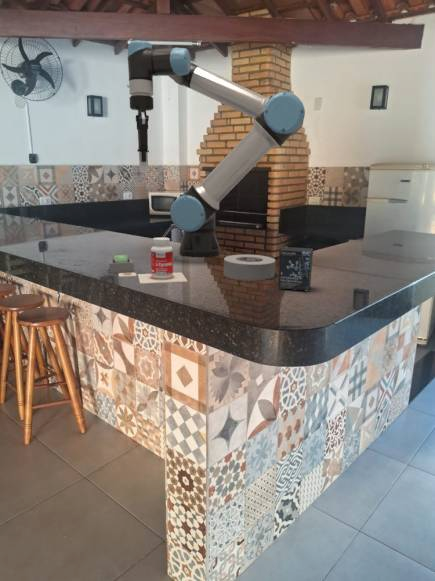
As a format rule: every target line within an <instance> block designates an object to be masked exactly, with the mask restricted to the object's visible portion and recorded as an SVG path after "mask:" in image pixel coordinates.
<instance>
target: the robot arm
mask: <svg viewBox="0 0 435 581" xmlns="http://www.w3.org/2000/svg"><path fill="white" fill-rule="evenodd" d="M127 69H128V84H127V88H129V89H128V90H129V96H130V97H129V109H130V110H133V111H137V114H135V122H136V130H137V141H138V142H137V144H138V145H137V146H138V148H137V152H138V159H139V160H138V161H139V162H138V163H139V166H138V167H139V173H149V158H148V157H149V156H148V153H150V150H149V144H148V142H149V141H148V137H149V136H148V135H149V133H148V131H149V130H148V129H149V118H150V117H149V115H147V111H148V112H149V111H153V110H154V97H153V95H154V79H153V78H154V77H155V76H156V77H160V76H161V77H162V76H163V77H164V76H166V77H167V76H168V77H169V78H170V79H172V80H173V82H174V83H176V84H178V85H179V86H183V87H186V88H187V89H191V90H192V91H194V92H196V93H199V94H200V95H203V96H206V97H208V98H210V99H212V100H214V101H216V102H218V103H221V104H223V105H225V106H227V107H228V108H231V109H233V110H235V111H237V112H239V113H242V114H244V115H247V116H249V117H250V118H253V126H252V128H251V130H249V131H248V133H247V134H245V136H244V137H243V138H241V140H240V141H239V142H238V143H237V144H236V145H235V147H233V148H232V150H231V151H230V152H228V153H227V154H226V156H225V157H224V158H223V159H222V160H221V161H220V162H219V163H218V164H217V165H216V166H215V167H214V169H212V171H210V173H209V174H208V175H207V176H206V177H205V178H204V179H203V180H202V181H201V182H200V183H193V184H192V185H191V186H190V187H189V188H188V189H186V190H184V192H183V194H182V195H181V196H179V197H178V198H176V199H174V201H173V203H172V205H171V208H170V217H171V220H172V221H171V222H172V223H173V224H174V226H175V227H177V228H178V229H179V230H181V231H183V235H182V239H181V241H180V244H179V249H178V253H179V255H180V256H183V257H187V258H212V257H213V258H214V257H217V256H220V255H221V254H220V253H221V252H220V251H221V248H220V245H219V242H218V239H217V236H216V213H217V212H218V211H219V210H220V202H221V201H222V200H223V199H224V198H225V197H226V196H227V195H228V194H229V193H230V191H232V190H233V189H234V188H235V187H236V186H237V185H238V184H239V183H240V182H241V180H242V179H244V178H245V176H246V175H247V174H248V173H249V172H250V171H251V170H252V169H253V168H254V167H255V166H256V165H257V164H258V163H259V162H260V161H261V160H262V159H263V158H264V157H265V156H266V155H267V154H268V153H269V152H270V151H271V150H272V149H274V148H280V147H281V146H282V145H283V144H285V142H287V140H289V138H290V137H291V136H294V135H295V134H297V133H298V132H299V130H300V129H301V128H302V126H303V125H304V124H303V123H304V121H305V120H304V119H305V115H306V114H305V113H306V109H305V105H304V103H303V101H302V100H301V98H299V97H298V96H297V95H296V94H294V93H291V92H289V91H284V92H283V91H281V92H278V93H276V94H274V95H273V96H272V95H268V96H265V95H263V94H260V93H257V92H255V91H253V90H251V89H249V88H246V87H245V86H243V85H240V84H238V83H236V82H234V81H232V80H229V79H227V78H225V77H224V76H221V75H219V74H217V73H214V72H212V71H210V70H208V69H206V68H204V67H201V66H199V65H198V64H195V63H193V62H192V60H191V54H190V51H189V49H188V48H184V47H169V48H153V45H152V43H150V42H149V41H145V40H133V41H130V42H129V43H128V45H127Z"/></svg>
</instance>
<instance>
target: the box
mask: <svg viewBox="0 0 435 581" xmlns="http://www.w3.org/2000/svg"><path fill="white" fill-rule="evenodd" d="M313 254H314V249H313V247H312V248H309V247H308V248H307V247H294V246H293V247H291V246H283V247H281V249H280V250H279V264H278V266H279V268H278V269H279V270H278V285H277V286H278V287H277V288H279V289H278V290H285V289H293V290H292V291H296V290H308V289H309V290H310V288H309V287H311V284H312V283H311V282H312V269H313V256H314V255H313ZM295 289H296V290H295ZM309 290H308V291H309Z"/></svg>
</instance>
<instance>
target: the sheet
mask: <svg viewBox="0 0 435 581" xmlns="http://www.w3.org/2000/svg"><path fill="white" fill-rule="evenodd" d="M137 276H138V278H137V279H138V280H139V284H140V285H149V284H170V283H188V280H187V278H186V277H185V275H184V274H183V272H173V276H172V277H171V278H168V279H156V278H153V277H152V276H151V273H141V274H140V273H139V274H137Z"/></svg>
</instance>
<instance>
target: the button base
mask: <svg viewBox="0 0 435 581" xmlns="http://www.w3.org/2000/svg"><path fill="white" fill-rule="evenodd" d="M108 266H109V274H119V273H135V271H134V268H135V267H134V259H133V258H128V262H123V263H115V261H114V259H113V258H112V259H111V258H110V259H109V265H108Z"/></svg>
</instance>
